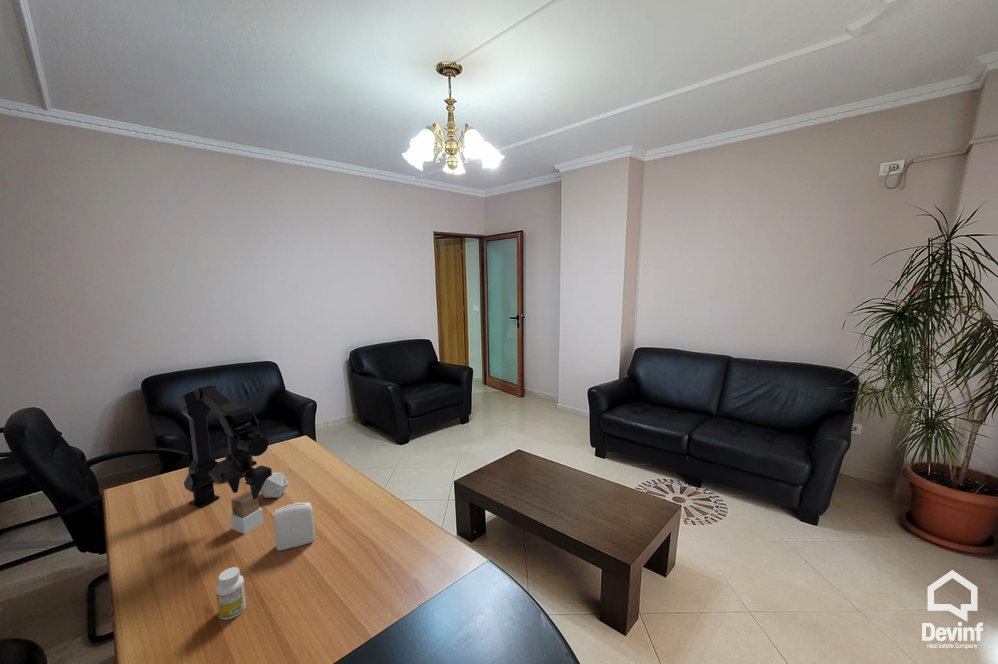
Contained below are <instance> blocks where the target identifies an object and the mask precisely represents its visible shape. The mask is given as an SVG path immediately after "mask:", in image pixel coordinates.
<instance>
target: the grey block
mask: <svg viewBox="0 0 998 664" xmlns="http://www.w3.org/2000/svg"><path fill="white" fill-rule="evenodd" d="M230 523H231V530H234V531H235V532H239V533H240V534H244V535H246V534H248V533H249V532H251V531H253V530H254V529H256V528H257V527H259V526H260V525H263V524H264V512H263V508H262V507H260V506H259V509H258V510H257V511H255V512H253V513H251V514H250V515H248V516H246V517H245V518H242V517H239V516H236V515H234V514H233V512H232V513H231V514H230Z"/></svg>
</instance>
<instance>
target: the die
mask: <svg viewBox="0 0 998 664" xmlns="http://www.w3.org/2000/svg"><path fill="white" fill-rule="evenodd" d="M289 485H290V482H289V481H288V480H287V478H286V476H285V475H284V473H283V472H273V471H272V476H270V477H269V478H267V479H266V480H265V482H264V484H263V486H262V488H261V491H260V493H261V495H262V496H263V498H265V499H271V498H272V499H273V498H274V499H277V498H278V499H279V498H281V496H282V494H283V493H284V491H285V490H286V489H287V488H288V486H289Z"/></svg>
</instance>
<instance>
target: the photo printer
mask: <svg viewBox="0 0 998 664" xmlns="http://www.w3.org/2000/svg"><path fill="white" fill-rule="evenodd" d="M313 509H314V508H313V507H312V504H311V502H296V503H290V504H288V505H284V506H282V507H279V508H278V509H276V510H274V514H273V529H274V539H275V541H274V542H275V549H276V551H278V552H279V551H280V552H281V551H284V550H285V551H286V550H288V549H292V548H297V547H300V546H304V545H307V544H310V543H314V541H315V540H316V530H315V520H314V510H313Z"/></svg>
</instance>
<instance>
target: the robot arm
mask: <svg viewBox="0 0 998 664" xmlns="http://www.w3.org/2000/svg"><path fill="white" fill-rule="evenodd" d="M177 404H178V408H180V412H181V413H182V415H184V416H185V417H186V418H187V419H188V422H189V423H188V426H189V433H190V440H191V441H190V443H191V450H192V458H193V459H192V461H191V463H190V464H189V466H188V472H187V473H188V474H187V477H186V478H185V480H184V482H183V485H184V488H185V490H187V491H189V492H191V493H192V496H193V497H192V499H193V500H191V501H188V504H189V505H191V506H194V507H196V508H199V509H200V508H203V507H205V506H206V505H209V504H211V503H213V502H215V501H216V500H218V499H220V498H221V497H220V496H219V495H216V494H215V488H214V486H215V485H214V483H219V485H221V484H224V483H226V482H227V484H228V486H229V488H230V489H231V491H232V493H233V494H236V493H238V491H239V488H240V479H241V478H240V476H241V473H244V474H246V475H245V476H244V477H243V478H244V481H245V482H244V484H246V485H247V486H249V488H250V492H251V493H252V497H253V499H254V500H255V499H256V498H258V499H259V495H260V493H261V492H260V491H261V488H262V486H263V484H264V482H265V480H266V479H267V478H269V477H270V476H272V472H273V470H272V468H271V467H269V466H265V465H259V466H256V467H254V466H255V465H258V464H257V461H256V460H254V457H259V456H262V455H263V454H264V453H265V452H266V451H267V450H268V447H269V440H268V439H267V438H266V437H265V436H263V435H261V432H260V431H257V430H259V429H261V425H260V421H259V419H258V418H257V416H256V415H255V413H254V412H253V410H252V409H251V408H250V407H249V406H247V405H246V404H243V403H235V402H233V401H232V400H231V399H229V398H228V397H227V396H226V395H225V394H223V393H222V392H221V391H219V390H218V388H217V387H216V385H214V384H209V385H205V386H199V387H197V388H195V389H194V390H192V391H190V392H188V393H183V394H182V395H181V397H179V399H178V401H177ZM211 410H212V411H214V413H216V414H217V415H218V416H219V423H220V425H221V426H222V428H223V430H224V434H226V435H227V445H228V453H225V458H224V459H223V460H220V461H217V460H215V458H213V456H212V454H211V453H212V451H211V444H210V442H211V441H210V435H209V434H210V433H209V426H208V415H209V414H210V412H211Z"/></svg>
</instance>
